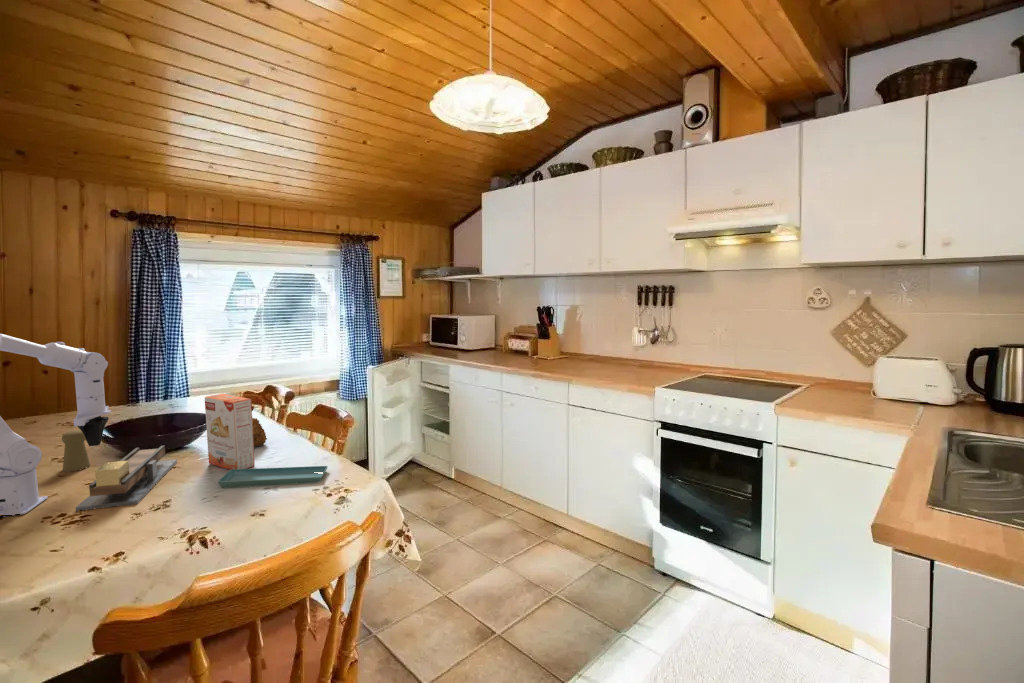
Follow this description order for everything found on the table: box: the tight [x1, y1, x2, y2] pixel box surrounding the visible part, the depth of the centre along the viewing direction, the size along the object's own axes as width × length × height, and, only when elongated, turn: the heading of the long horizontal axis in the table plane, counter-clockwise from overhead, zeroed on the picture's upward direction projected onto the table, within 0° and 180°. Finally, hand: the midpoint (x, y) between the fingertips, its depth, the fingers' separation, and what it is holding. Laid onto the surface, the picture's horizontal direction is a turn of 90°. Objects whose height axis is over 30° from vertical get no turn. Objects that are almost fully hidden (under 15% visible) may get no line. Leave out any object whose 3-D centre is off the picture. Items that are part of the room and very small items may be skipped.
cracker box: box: [204, 393, 255, 471], centre depth 141 cm, size 14×6×21 cm, turn 62°
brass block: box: [94, 460, 129, 487], centre depth 117 cm, size 6×4×4 cm
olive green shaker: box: [61, 429, 91, 473], centre depth 139 cm, size 6×6×11 cm
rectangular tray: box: [217, 465, 329, 488], centre depth 132 cm, size 26×9×2 cm, turn 100°
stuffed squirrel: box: [252, 405, 268, 448], centre depth 161 cm, size 10×14×13 cm
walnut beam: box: [88, 445, 166, 497], centre depth 128 cm, size 28×7×3 cm, turn 20°
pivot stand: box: [75, 459, 178, 512], centre depth 128 cm, size 30×12×6 cm, turn 20°
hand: (94, 445), depth 129 cm, fingers closed
